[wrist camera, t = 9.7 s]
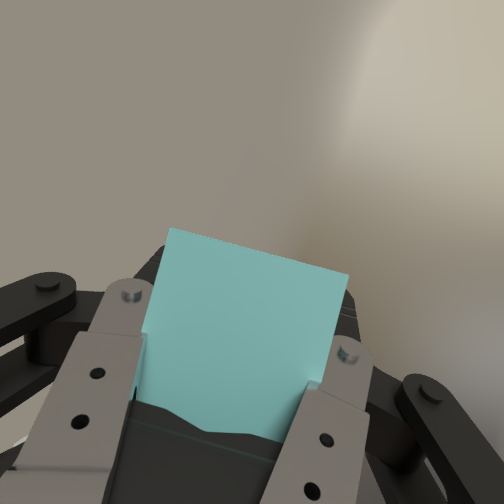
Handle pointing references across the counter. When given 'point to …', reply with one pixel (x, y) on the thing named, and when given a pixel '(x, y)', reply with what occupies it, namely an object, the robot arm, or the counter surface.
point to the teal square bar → (236, 335)
